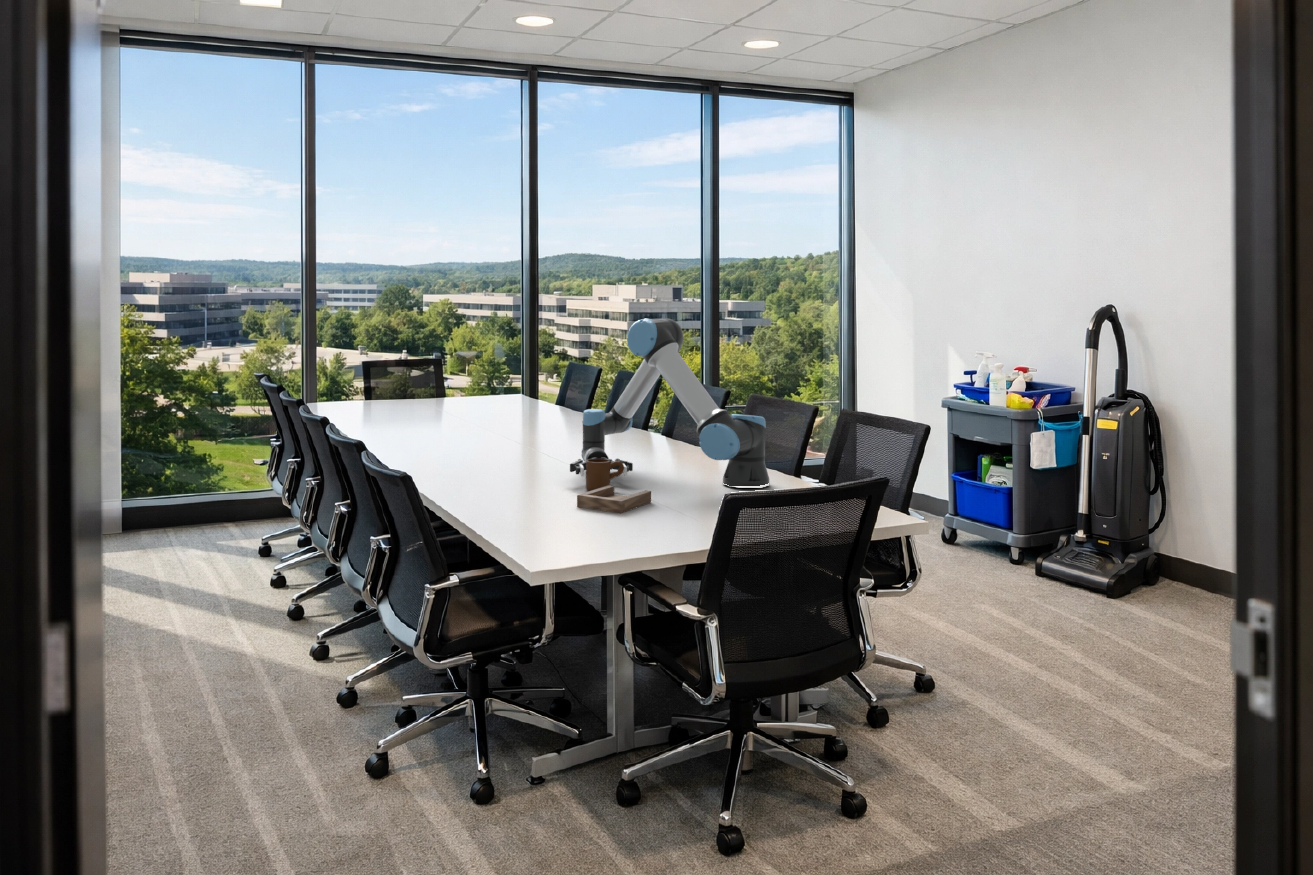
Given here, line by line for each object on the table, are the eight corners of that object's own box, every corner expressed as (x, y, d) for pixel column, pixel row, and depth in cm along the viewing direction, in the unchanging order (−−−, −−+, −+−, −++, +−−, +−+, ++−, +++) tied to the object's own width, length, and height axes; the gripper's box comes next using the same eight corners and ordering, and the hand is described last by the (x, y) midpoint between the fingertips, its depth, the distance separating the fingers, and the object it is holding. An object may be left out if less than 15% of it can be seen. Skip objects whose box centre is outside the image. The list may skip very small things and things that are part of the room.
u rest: (651, 502, 299) (651, 490, 298) (620, 513, 284) (621, 501, 284) (608, 496, 306) (608, 485, 306) (577, 506, 291) (577, 495, 291)
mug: (621, 486, 321) (622, 457, 320) (625, 491, 314) (626, 462, 312) (584, 487, 319) (584, 458, 317) (587, 492, 311) (587, 462, 310)
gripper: (633, 470, 338) (643, 482, 317) (559, 471, 334) (564, 484, 313) (633, 448, 337) (643, 459, 316) (559, 449, 332) (564, 460, 312)
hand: (604, 471), depth 314 cm, fingers open, 13 cm apart
